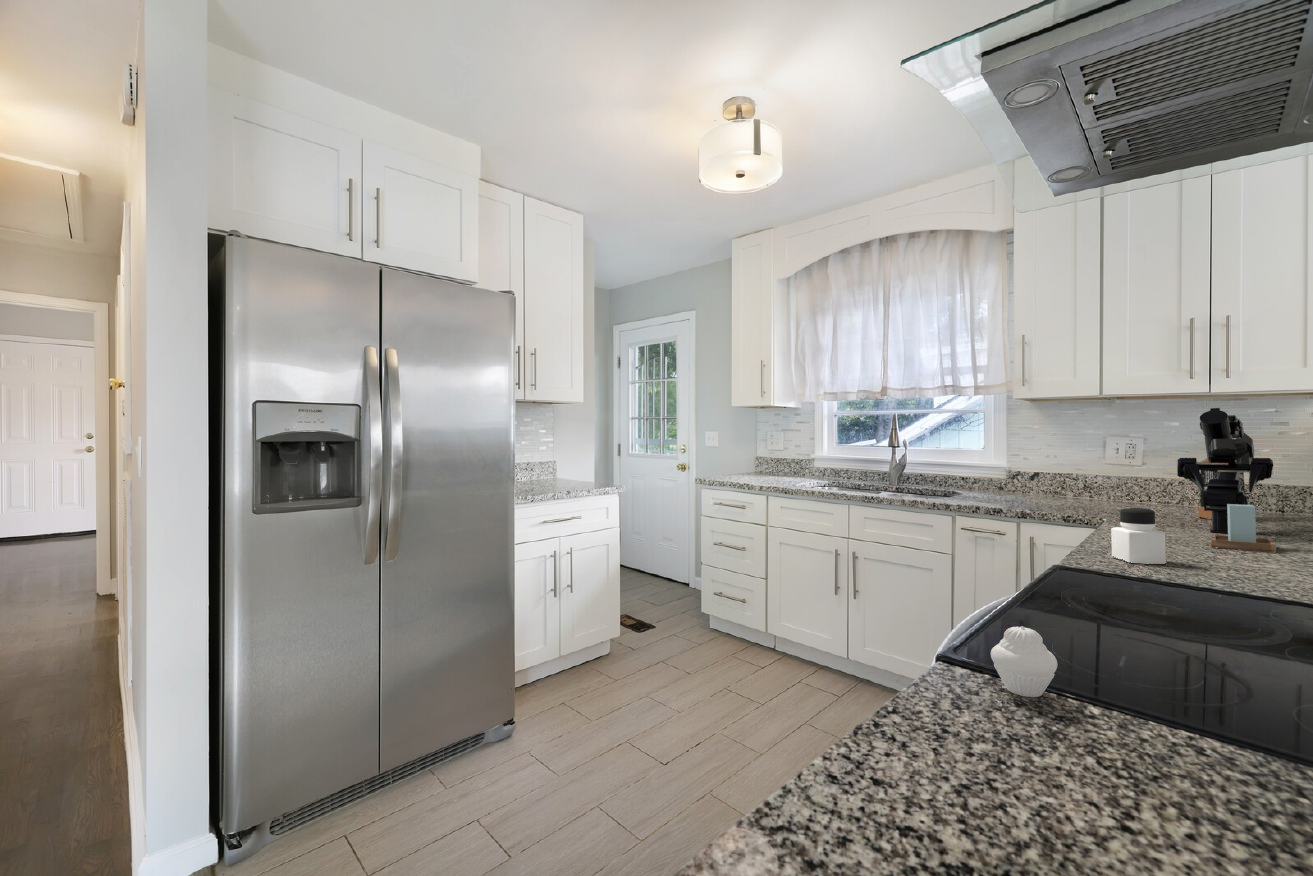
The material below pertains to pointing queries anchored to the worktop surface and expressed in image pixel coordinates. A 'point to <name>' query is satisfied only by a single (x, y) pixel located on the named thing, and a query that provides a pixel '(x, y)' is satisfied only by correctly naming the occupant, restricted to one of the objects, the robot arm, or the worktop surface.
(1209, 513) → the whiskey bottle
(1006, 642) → the muffin
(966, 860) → the worktop surface
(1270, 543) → the tray
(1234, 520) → the post
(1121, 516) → the medicine bottle
